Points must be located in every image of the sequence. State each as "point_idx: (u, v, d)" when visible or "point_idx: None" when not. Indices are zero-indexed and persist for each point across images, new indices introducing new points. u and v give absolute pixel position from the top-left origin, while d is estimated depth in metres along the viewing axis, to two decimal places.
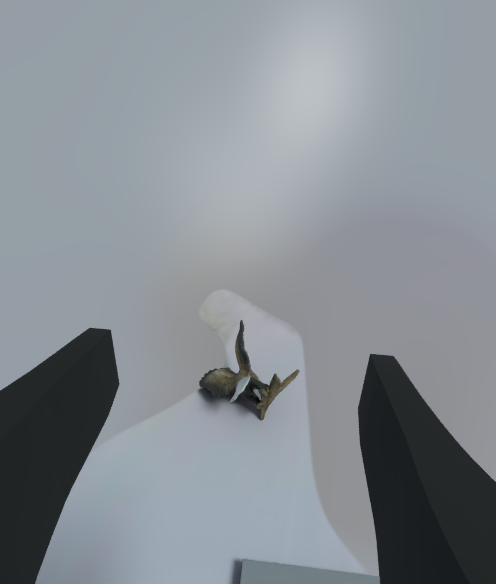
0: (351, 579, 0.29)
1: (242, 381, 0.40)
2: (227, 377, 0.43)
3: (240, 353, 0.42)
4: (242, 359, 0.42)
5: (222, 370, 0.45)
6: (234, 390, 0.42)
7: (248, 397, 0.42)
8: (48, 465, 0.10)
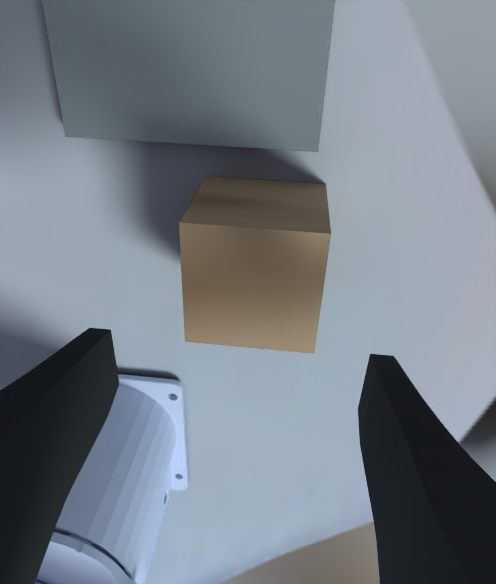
0: None
1: None
2: None
3: None
4: None
5: None
6: None
7: None
8: (48, 465, 0.10)
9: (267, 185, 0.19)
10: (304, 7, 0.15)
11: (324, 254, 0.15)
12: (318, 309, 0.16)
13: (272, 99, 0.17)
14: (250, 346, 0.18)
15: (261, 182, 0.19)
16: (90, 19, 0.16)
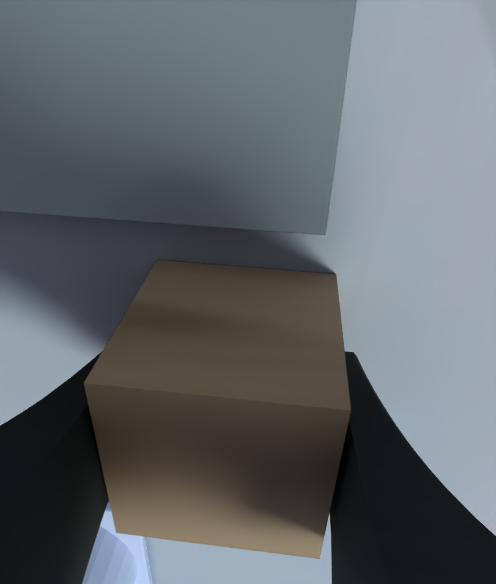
0: None
1: None
2: None
3: None
4: None
5: None
6: None
7: None
8: (93, 470, 0.10)
9: (247, 280, 0.12)
10: (303, 6, 0.09)
11: (338, 438, 0.09)
12: (327, 507, 0.10)
13: (252, 155, 0.10)
14: (218, 545, 0.11)
15: (238, 274, 0.12)
16: None
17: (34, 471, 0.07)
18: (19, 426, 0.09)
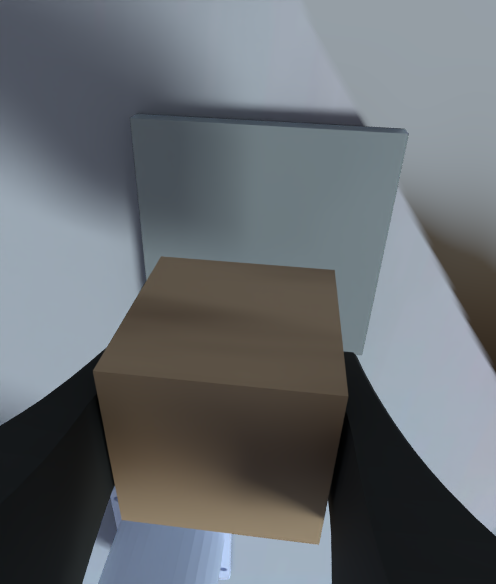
0: (317, 140, 0.16)
1: None
2: None
3: None
4: None
5: None
6: None
7: None
8: (93, 470, 0.10)
9: (249, 276, 0.12)
10: (356, 266, 0.19)
11: (337, 424, 0.09)
12: (326, 492, 0.10)
13: None
14: (220, 531, 0.11)
15: (239, 270, 0.13)
16: None
17: (34, 471, 0.07)
18: (19, 426, 0.09)
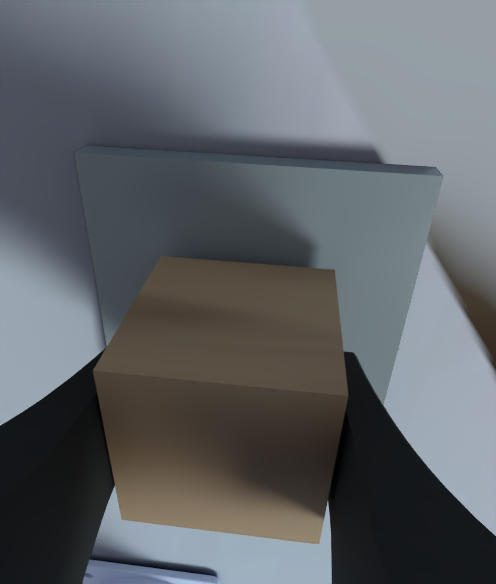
0: (320, 183, 0.12)
1: None
2: None
3: None
4: None
5: None
6: None
7: None
8: (93, 470, 0.10)
9: (248, 276, 0.12)
10: (369, 335, 0.15)
11: (337, 423, 0.09)
12: (326, 492, 0.10)
13: None
14: (220, 531, 0.11)
15: (239, 270, 0.13)
16: None
17: (34, 471, 0.07)
18: (20, 426, 0.09)
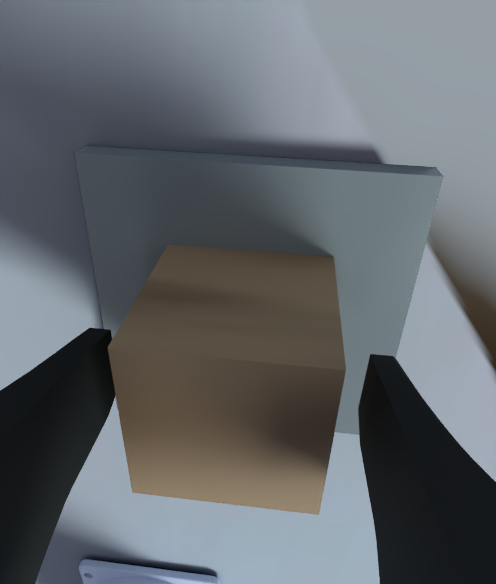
0: (320, 183, 0.12)
1: None
2: None
3: None
4: None
5: None
6: None
7: None
8: (48, 465, 0.10)
9: (251, 262, 0.13)
10: (369, 335, 0.15)
11: (335, 396, 0.10)
12: (325, 463, 0.11)
13: None
14: (226, 502, 0.12)
15: (243, 257, 0.13)
16: None
17: None
18: None
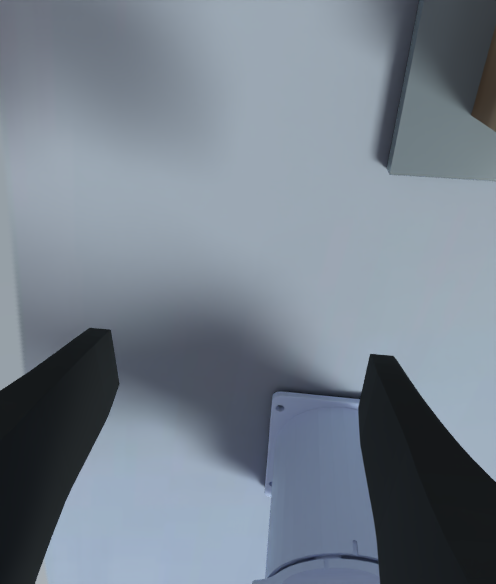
0: None
1: None
2: None
3: None
4: None
5: None
6: None
7: None
8: (48, 465, 0.10)
9: None
10: None
11: None
12: None
13: None
14: None
15: None
16: (459, 64, 0.16)
17: None
18: None
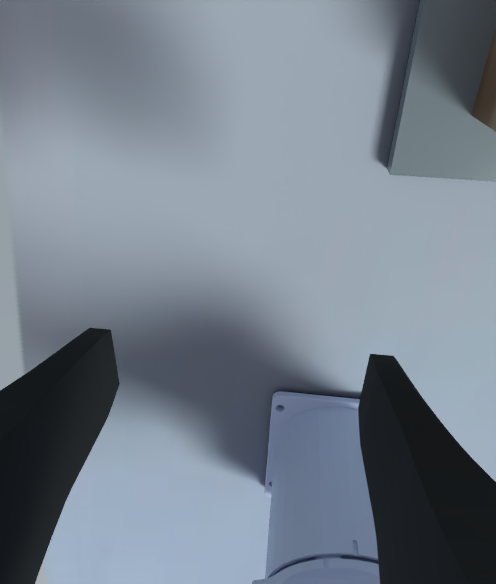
0: None
1: None
2: None
3: None
4: None
5: None
6: None
7: None
8: (48, 465, 0.10)
9: None
10: None
11: None
12: None
13: None
14: None
15: None
16: (460, 64, 0.16)
17: None
18: None
